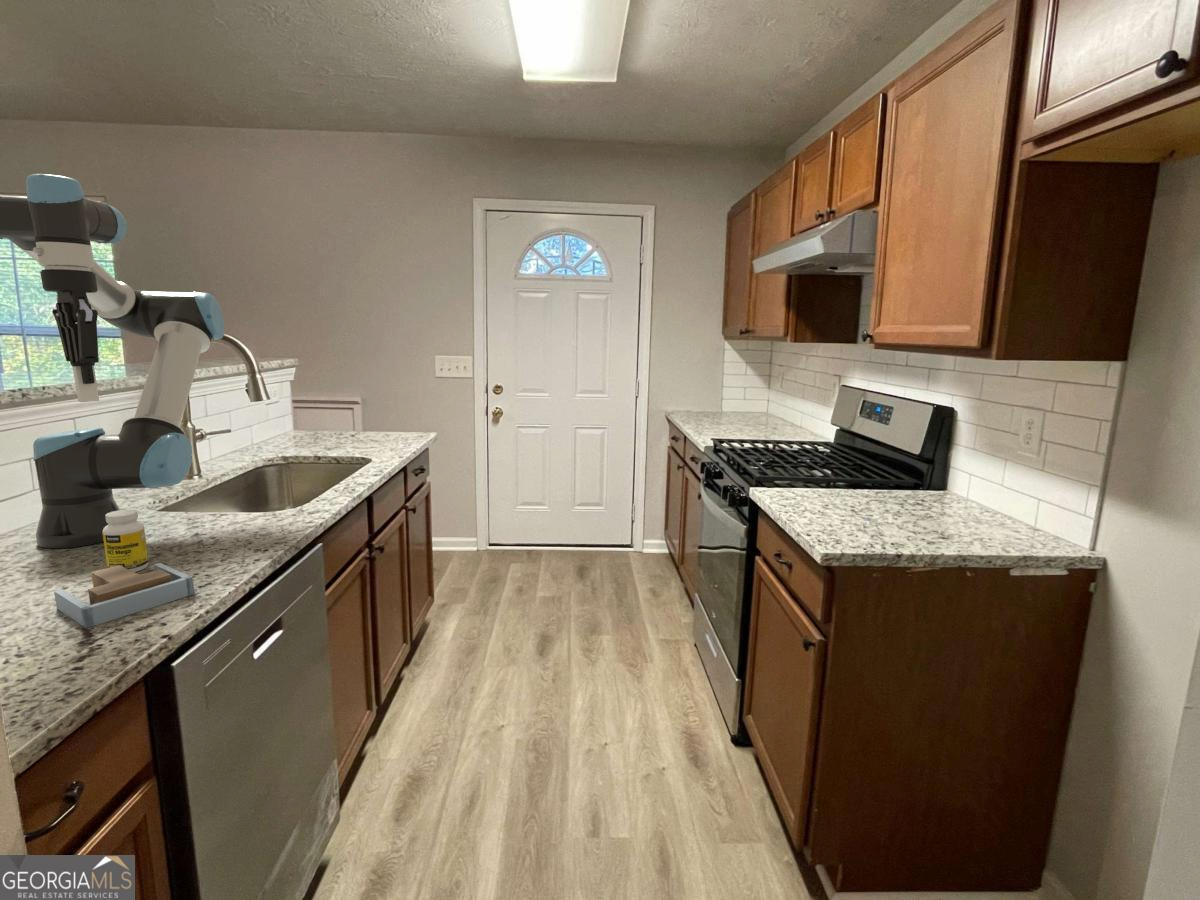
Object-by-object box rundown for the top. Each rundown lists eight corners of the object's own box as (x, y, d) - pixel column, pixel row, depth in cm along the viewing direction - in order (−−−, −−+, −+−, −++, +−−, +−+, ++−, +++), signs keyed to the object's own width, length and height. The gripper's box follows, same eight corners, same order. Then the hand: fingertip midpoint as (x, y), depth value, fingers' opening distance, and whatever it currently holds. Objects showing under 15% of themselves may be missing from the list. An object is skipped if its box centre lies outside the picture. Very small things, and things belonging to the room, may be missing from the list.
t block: (72, 600, 102) (68, 577, 102) (142, 580, 111) (139, 559, 110) (101, 619, 96) (98, 595, 95) (173, 596, 104) (170, 574, 103)
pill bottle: (104, 577, 112) (95, 519, 110) (112, 566, 117) (103, 510, 115) (146, 572, 114) (138, 514, 112) (151, 561, 120) (144, 506, 118)
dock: (56, 608, 99) (54, 591, 99) (162, 578, 112) (160, 562, 111) (86, 628, 93) (83, 609, 92) (194, 593, 105) (192, 577, 105)
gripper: (27, 268, 110) (49, 400, 115) (55, 266, 103) (78, 406, 108) (78, 271, 116) (98, 396, 121) (108, 269, 109) (128, 401, 114)
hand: (88, 401), depth 114 cm, fingers closed
